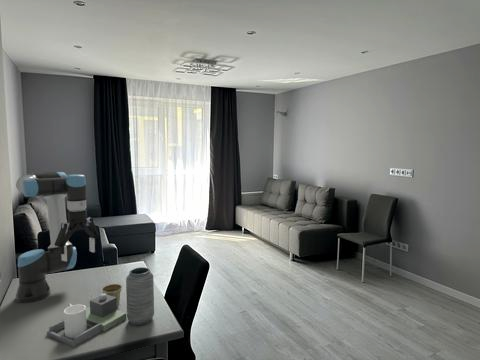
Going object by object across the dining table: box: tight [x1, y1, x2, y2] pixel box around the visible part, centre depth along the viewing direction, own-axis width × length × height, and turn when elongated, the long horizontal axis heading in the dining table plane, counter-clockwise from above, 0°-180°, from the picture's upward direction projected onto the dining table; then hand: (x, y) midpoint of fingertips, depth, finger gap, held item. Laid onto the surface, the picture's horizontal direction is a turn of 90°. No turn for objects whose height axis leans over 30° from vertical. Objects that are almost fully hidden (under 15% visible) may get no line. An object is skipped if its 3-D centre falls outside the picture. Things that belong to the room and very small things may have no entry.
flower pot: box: [101, 283, 123, 307], centre depth 159 cm, size 9×9×9 cm
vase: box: [125, 266, 155, 326], centre depth 144 cm, size 12×12×23 cm
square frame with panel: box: [46, 292, 127, 347], centre depth 140 cm, size 20×25×10 cm
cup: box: [63, 303, 88, 339], centre depth 137 cm, size 8×12×10 cm
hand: (78, 256), depth 145 cm, fingers open, 13 cm apart
